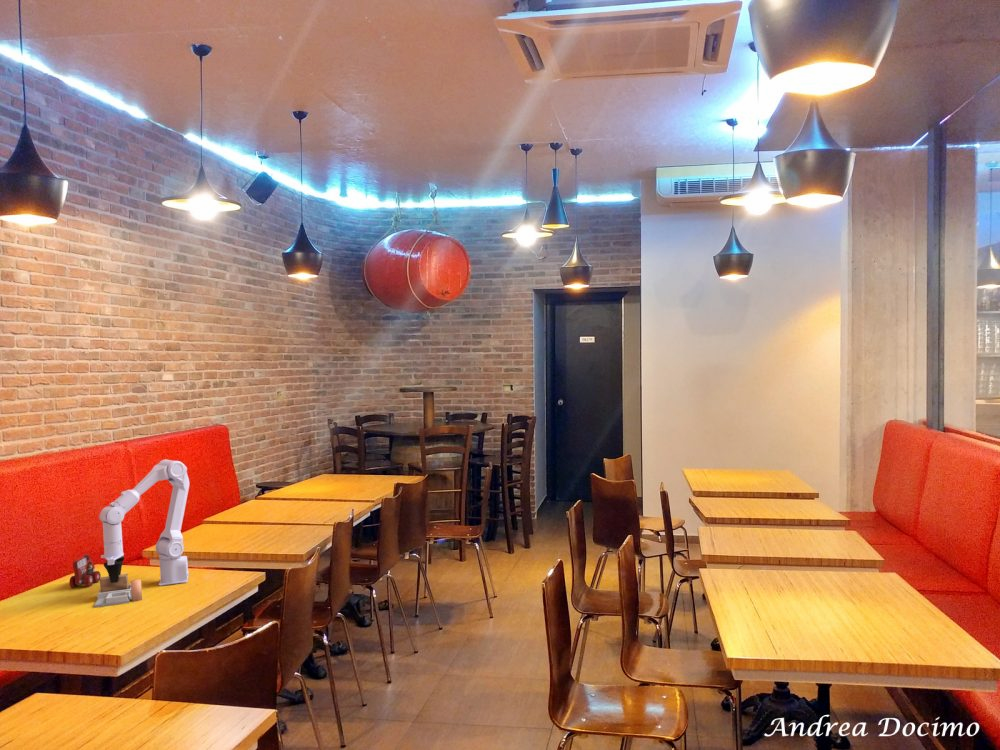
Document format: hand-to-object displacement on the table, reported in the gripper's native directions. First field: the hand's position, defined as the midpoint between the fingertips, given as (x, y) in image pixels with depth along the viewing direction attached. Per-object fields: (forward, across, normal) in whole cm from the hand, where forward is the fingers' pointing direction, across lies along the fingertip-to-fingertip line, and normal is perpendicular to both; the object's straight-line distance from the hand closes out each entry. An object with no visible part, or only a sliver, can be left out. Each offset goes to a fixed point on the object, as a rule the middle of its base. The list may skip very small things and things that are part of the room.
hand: (115, 580), depth 269 cm
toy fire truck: (+6, -22, -13) cm, 26 cm away
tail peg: (+5, +8, +7) cm, 12 cm away
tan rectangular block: (+4, 0, 0) cm, 4 cm away
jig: (+5, +3, 0) cm, 6 cm away
